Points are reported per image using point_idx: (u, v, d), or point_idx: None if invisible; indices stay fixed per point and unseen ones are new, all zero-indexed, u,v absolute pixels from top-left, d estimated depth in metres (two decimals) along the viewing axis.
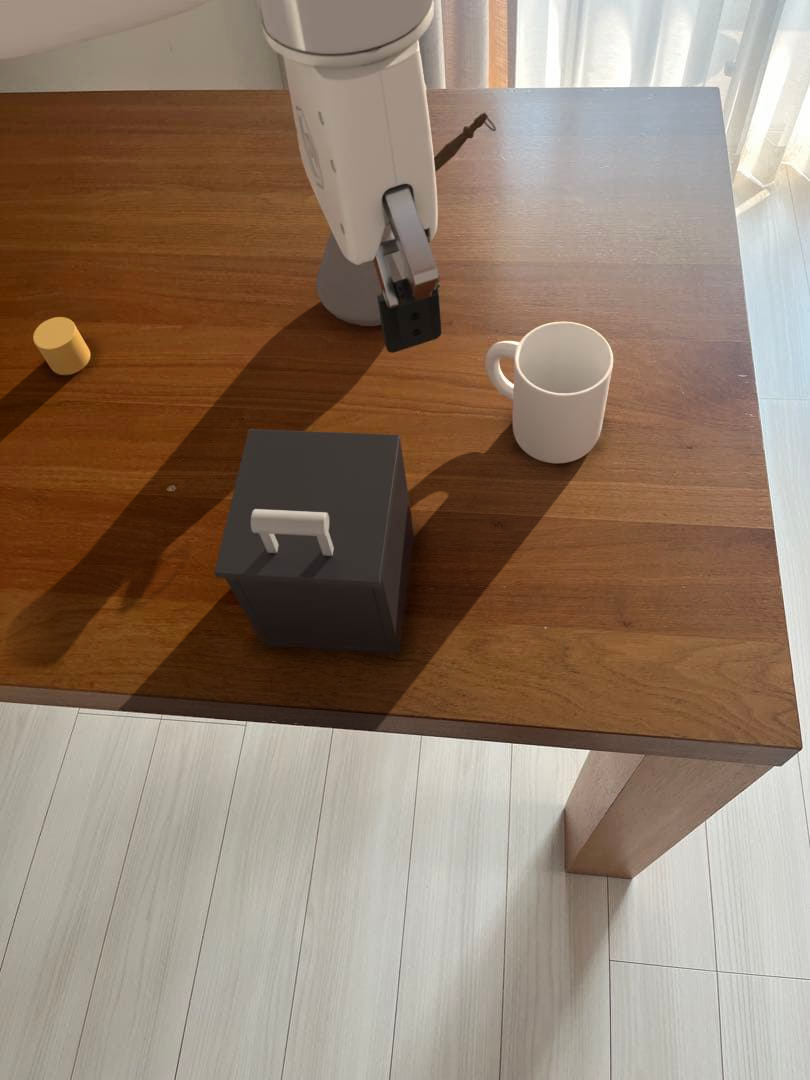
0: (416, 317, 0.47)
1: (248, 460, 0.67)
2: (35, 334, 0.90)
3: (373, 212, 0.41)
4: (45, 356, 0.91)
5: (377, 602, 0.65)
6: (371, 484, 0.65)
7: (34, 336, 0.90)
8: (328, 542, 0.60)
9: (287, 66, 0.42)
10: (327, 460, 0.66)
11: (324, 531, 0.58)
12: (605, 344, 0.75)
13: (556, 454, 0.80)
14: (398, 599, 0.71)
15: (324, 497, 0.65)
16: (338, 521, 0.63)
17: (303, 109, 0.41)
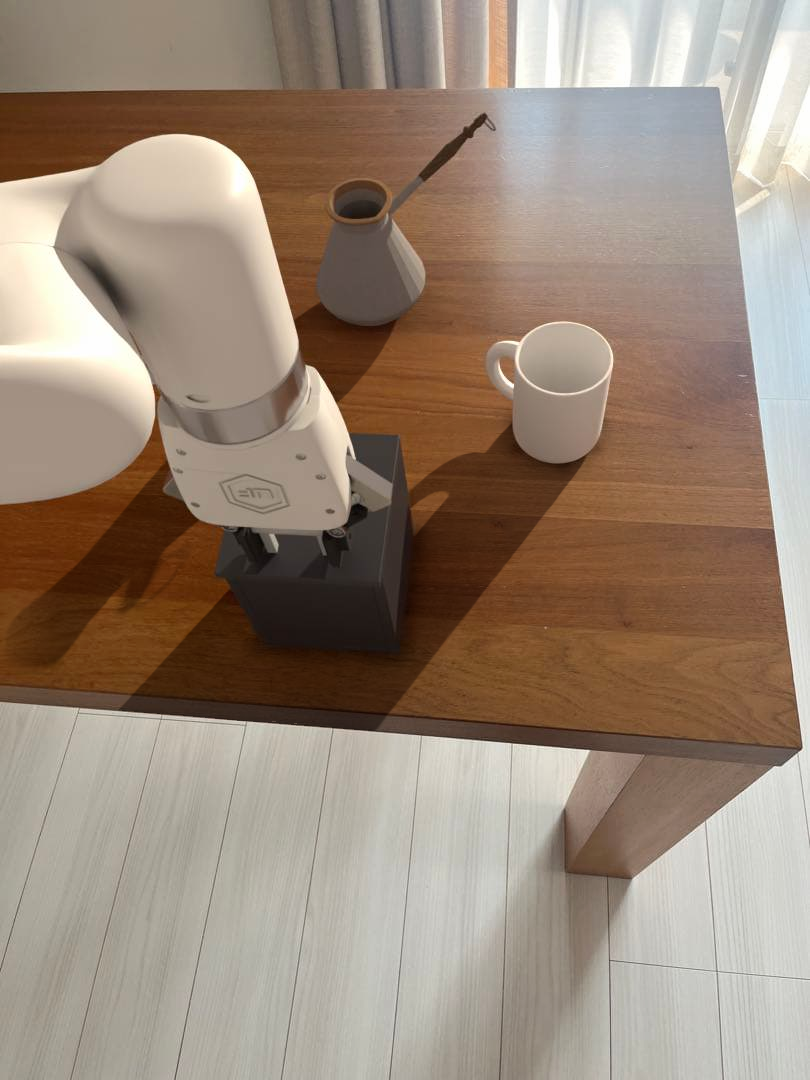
0: (347, 528, 0.59)
1: None
2: None
3: (346, 481, 0.52)
4: None
5: (377, 602, 0.65)
6: None
7: None
8: None
9: (204, 463, 0.49)
10: None
11: None
12: (605, 344, 0.75)
13: (556, 454, 0.80)
14: (398, 599, 0.71)
15: None
16: None
17: (255, 471, 0.49)
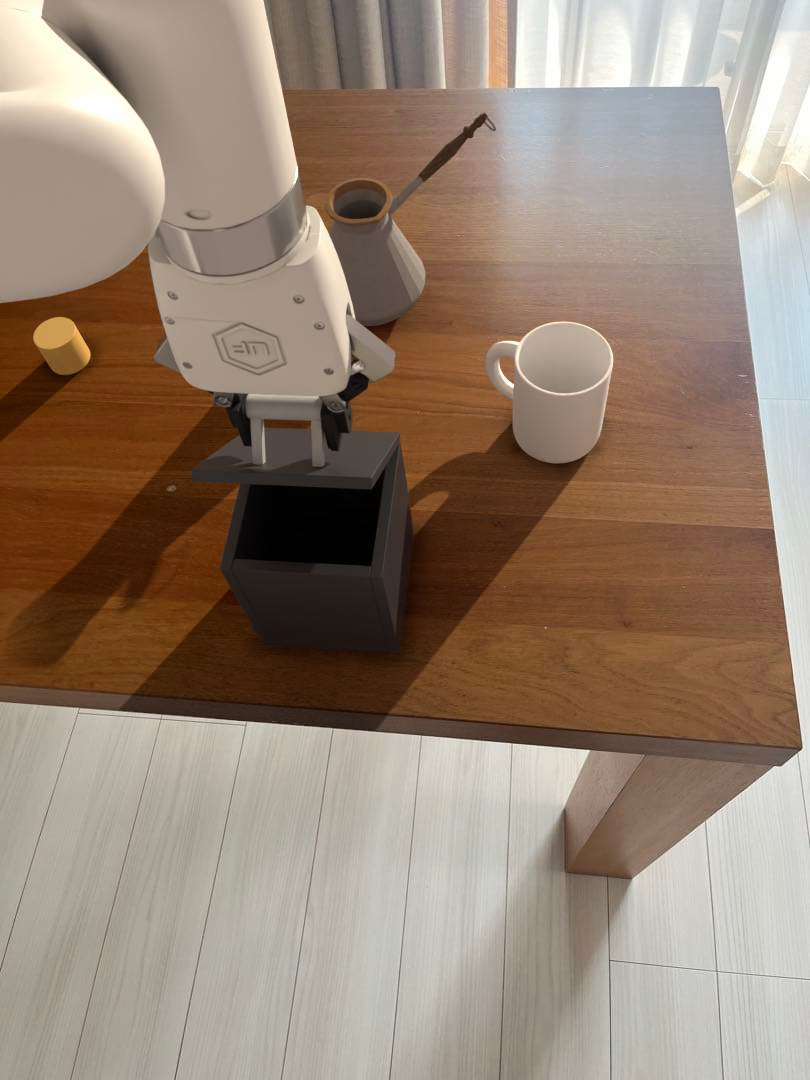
0: (346, 407, 0.57)
1: None
2: (35, 334, 0.90)
3: (346, 338, 0.49)
4: (45, 356, 0.91)
5: (377, 602, 0.65)
6: (369, 446, 0.63)
7: (34, 336, 0.90)
8: (322, 439, 0.57)
9: (197, 309, 0.46)
10: None
11: None
12: (605, 344, 0.75)
13: (556, 454, 0.80)
14: (398, 599, 0.71)
15: None
16: (332, 456, 0.60)
17: (250, 318, 0.46)
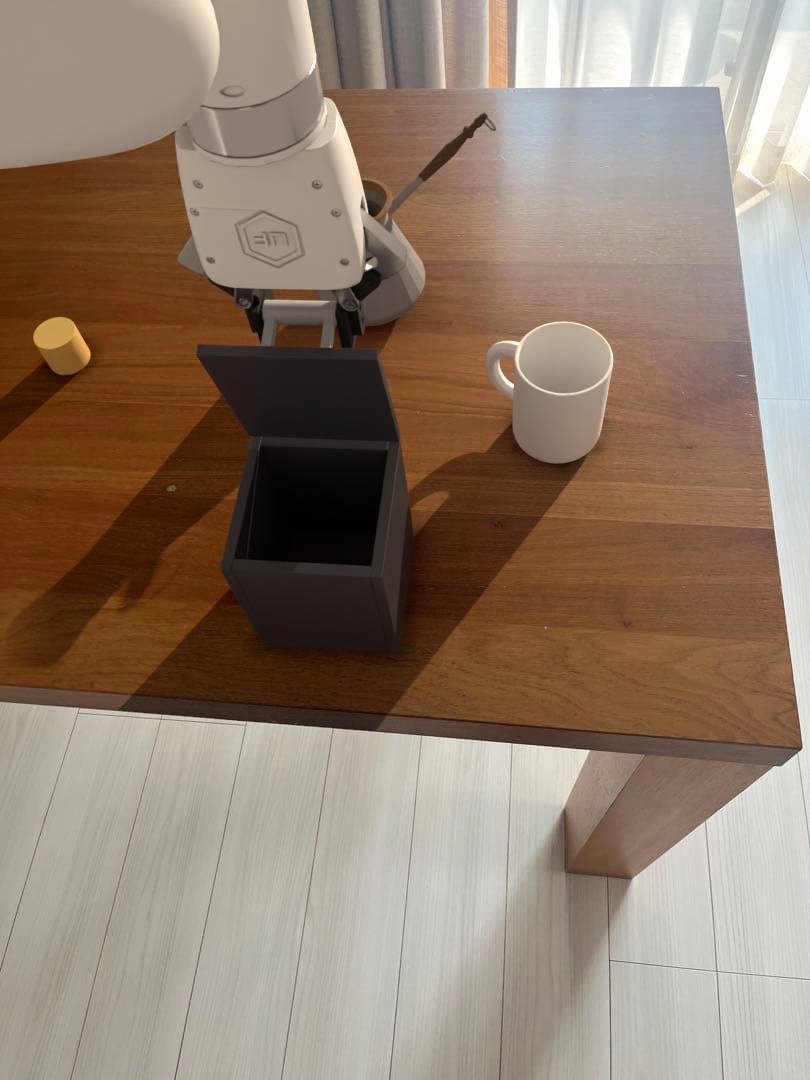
0: (359, 308, 0.60)
1: None
2: (35, 334, 0.90)
3: (360, 230, 0.52)
4: (45, 356, 0.91)
5: (377, 602, 0.65)
6: None
7: (34, 336, 0.90)
8: (331, 337, 0.58)
9: (220, 198, 0.49)
10: None
11: (336, 305, 0.58)
12: (605, 344, 0.75)
13: (556, 454, 0.80)
14: (398, 599, 0.71)
15: None
16: None
17: (271, 206, 0.49)
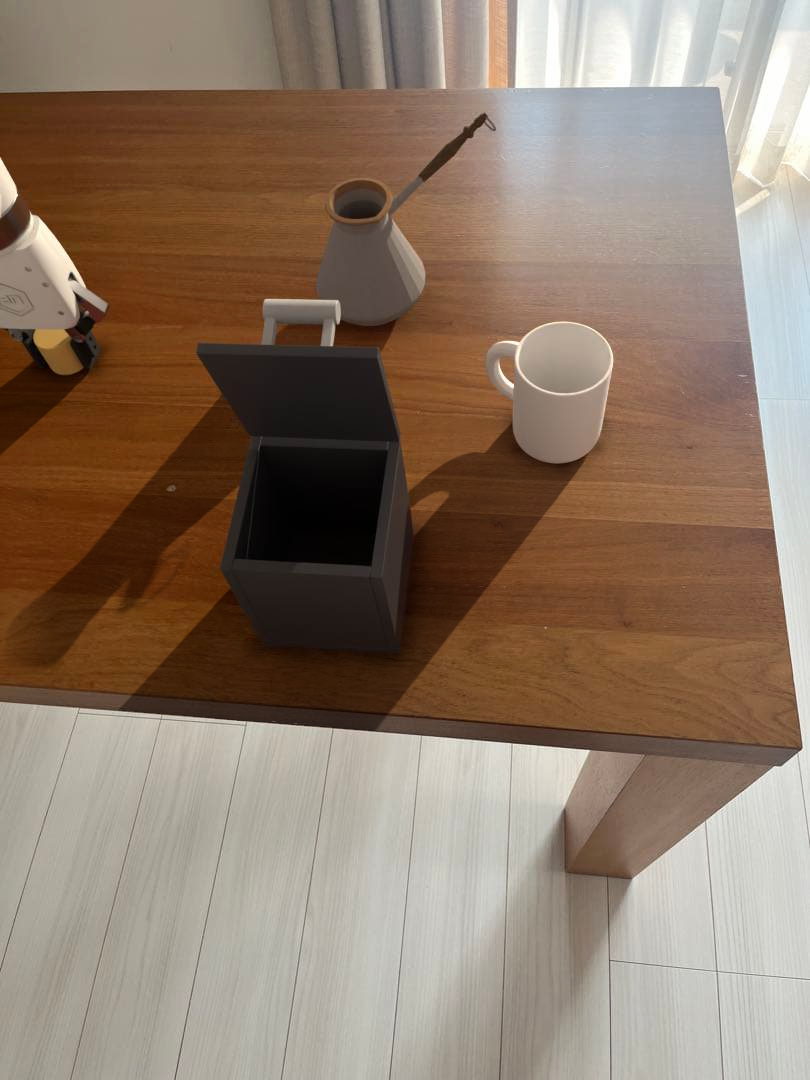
0: (90, 340, 0.91)
1: None
2: (35, 334, 0.90)
3: (69, 293, 0.83)
4: (45, 356, 0.91)
5: (377, 602, 0.65)
6: None
7: (34, 336, 0.90)
8: (331, 336, 0.58)
9: None
10: None
11: (336, 304, 0.58)
12: (605, 344, 0.75)
13: (556, 454, 0.80)
14: (398, 599, 0.71)
15: None
16: None
17: (4, 281, 0.80)
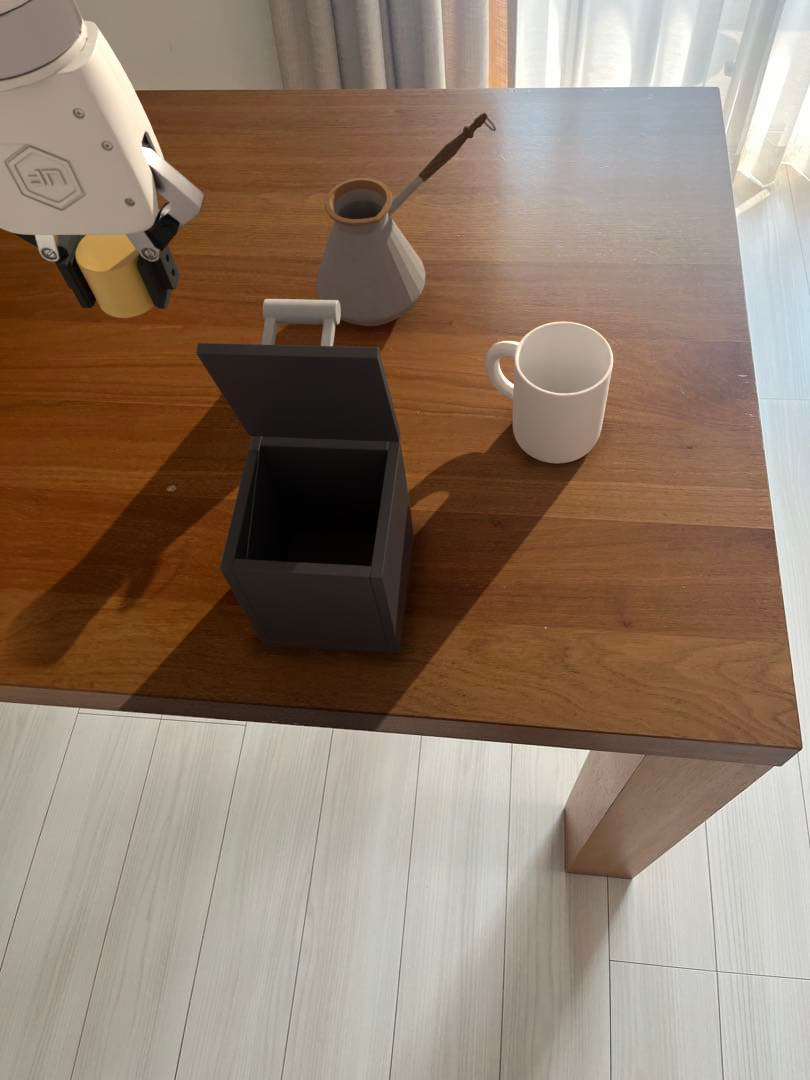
0: (167, 260, 0.56)
1: None
2: (78, 250, 0.56)
3: (144, 167, 0.49)
4: (95, 286, 0.56)
5: (377, 602, 0.65)
6: None
7: (77, 253, 0.56)
8: (331, 336, 0.58)
9: None
10: None
11: (336, 304, 0.58)
12: (605, 344, 0.75)
13: (556, 454, 0.80)
14: (398, 599, 0.71)
15: None
16: None
17: (36, 139, 0.46)
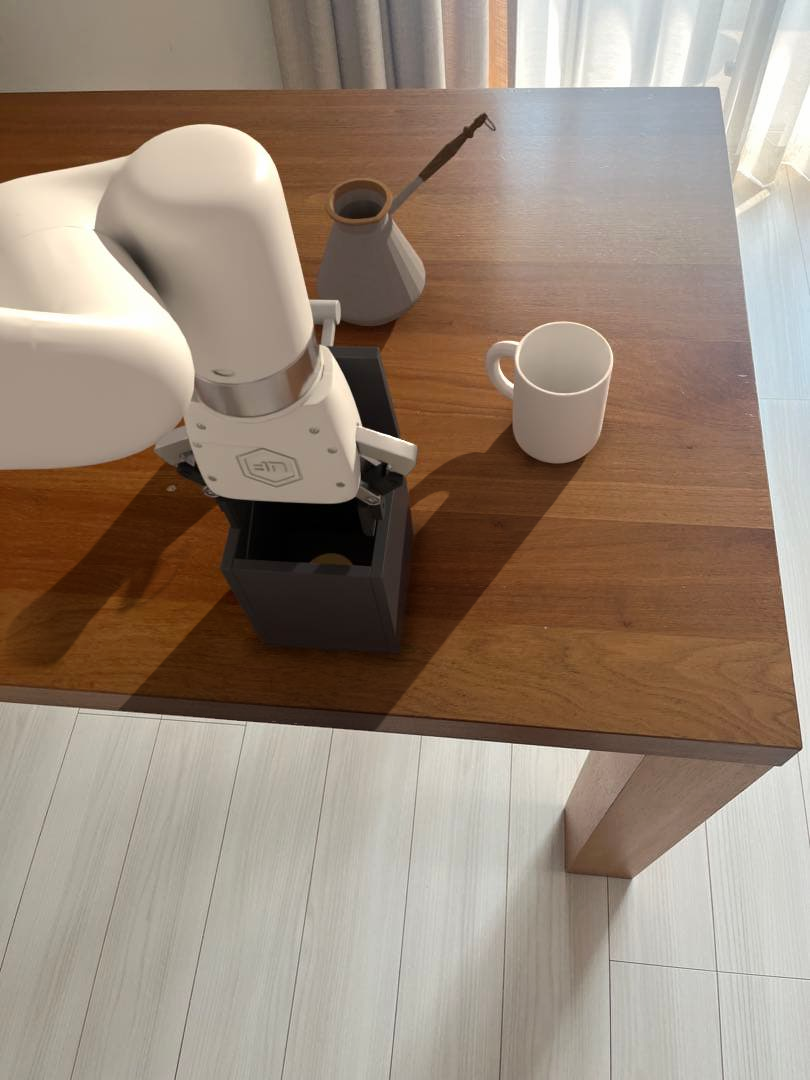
0: None
1: None
2: None
3: (355, 455, 0.54)
4: None
5: (377, 602, 0.65)
6: None
7: None
8: (331, 336, 0.58)
9: (222, 437, 0.52)
10: None
11: (336, 304, 0.58)
12: (605, 344, 0.75)
13: (556, 454, 0.80)
14: (398, 599, 0.71)
15: None
16: None
17: (270, 445, 0.52)
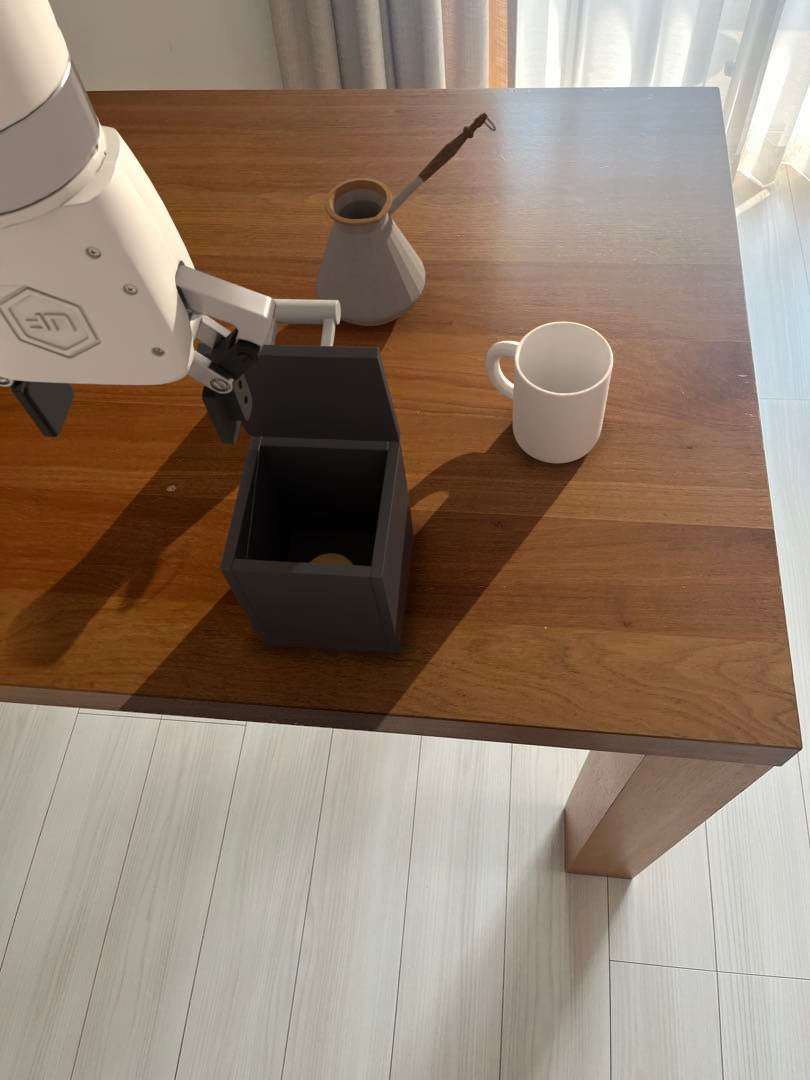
0: (240, 387, 0.44)
1: None
2: None
3: (178, 308, 0.37)
4: None
5: (377, 602, 0.65)
6: None
7: None
8: (331, 336, 0.58)
9: None
10: None
11: (336, 304, 0.58)
12: (605, 344, 0.75)
13: (556, 454, 0.80)
14: (398, 599, 0.71)
15: None
16: None
17: (36, 281, 0.35)
